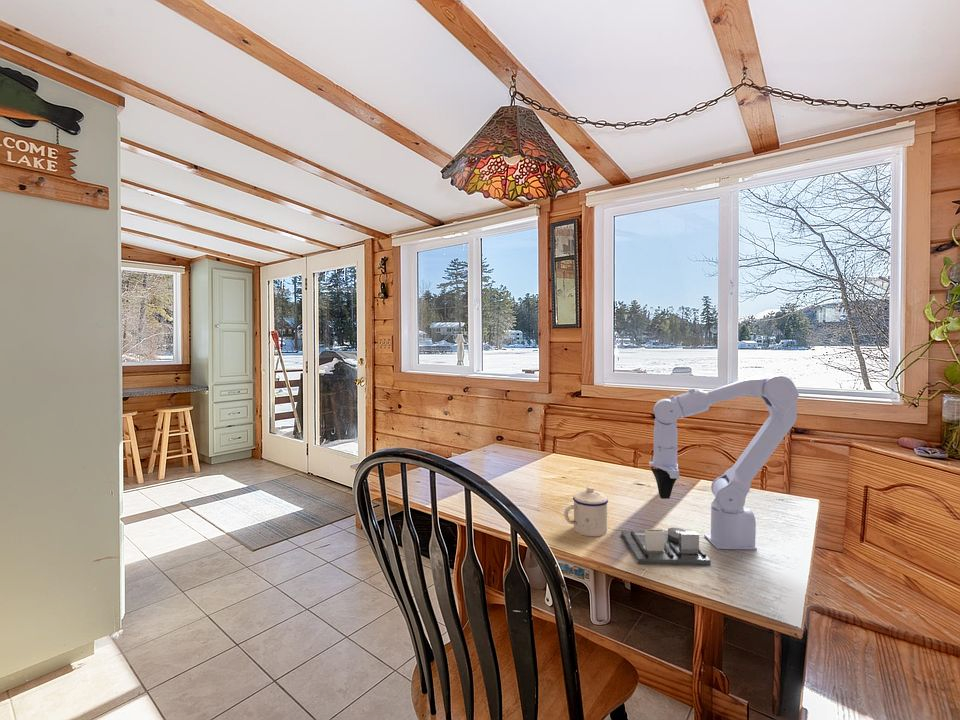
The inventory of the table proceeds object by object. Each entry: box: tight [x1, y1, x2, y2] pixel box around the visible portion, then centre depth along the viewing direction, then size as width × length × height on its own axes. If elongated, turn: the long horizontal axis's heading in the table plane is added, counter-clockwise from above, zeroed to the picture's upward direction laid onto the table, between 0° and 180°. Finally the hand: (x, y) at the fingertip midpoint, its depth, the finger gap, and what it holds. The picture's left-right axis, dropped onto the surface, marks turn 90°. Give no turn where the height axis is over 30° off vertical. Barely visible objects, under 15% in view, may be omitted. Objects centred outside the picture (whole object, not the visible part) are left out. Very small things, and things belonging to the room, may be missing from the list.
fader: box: [644, 528, 665, 551], centre depth 112 cm, size 4×2×5 cm, turn 87°
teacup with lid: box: [563, 486, 609, 538], centre depth 126 cm, size 12×9×12 cm
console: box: [620, 527, 711, 566], centre depth 115 cm, size 16×16×6 cm
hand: (664, 497), depth 123 cm, fingers closed
